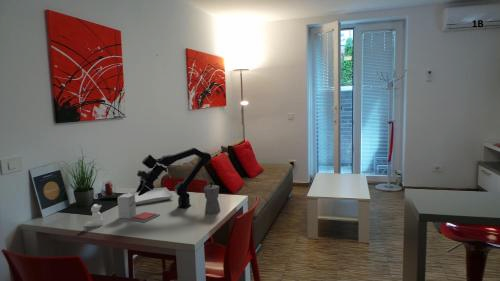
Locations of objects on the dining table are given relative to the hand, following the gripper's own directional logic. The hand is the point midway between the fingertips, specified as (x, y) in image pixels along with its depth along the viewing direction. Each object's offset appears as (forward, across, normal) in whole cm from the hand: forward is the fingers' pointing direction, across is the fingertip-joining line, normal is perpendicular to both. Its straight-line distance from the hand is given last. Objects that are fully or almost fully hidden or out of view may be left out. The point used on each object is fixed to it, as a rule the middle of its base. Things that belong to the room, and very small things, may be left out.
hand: (137, 193), depth 208 cm
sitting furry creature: (+26, +6, -7) cm, 27 cm away
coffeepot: (-19, +18, +37) cm, 46 cm away
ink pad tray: (+8, +9, +10) cm, 15 cm away
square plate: (+1, -32, +17) cm, 36 cm away
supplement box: (+14, 0, +4) cm, 14 cm away
